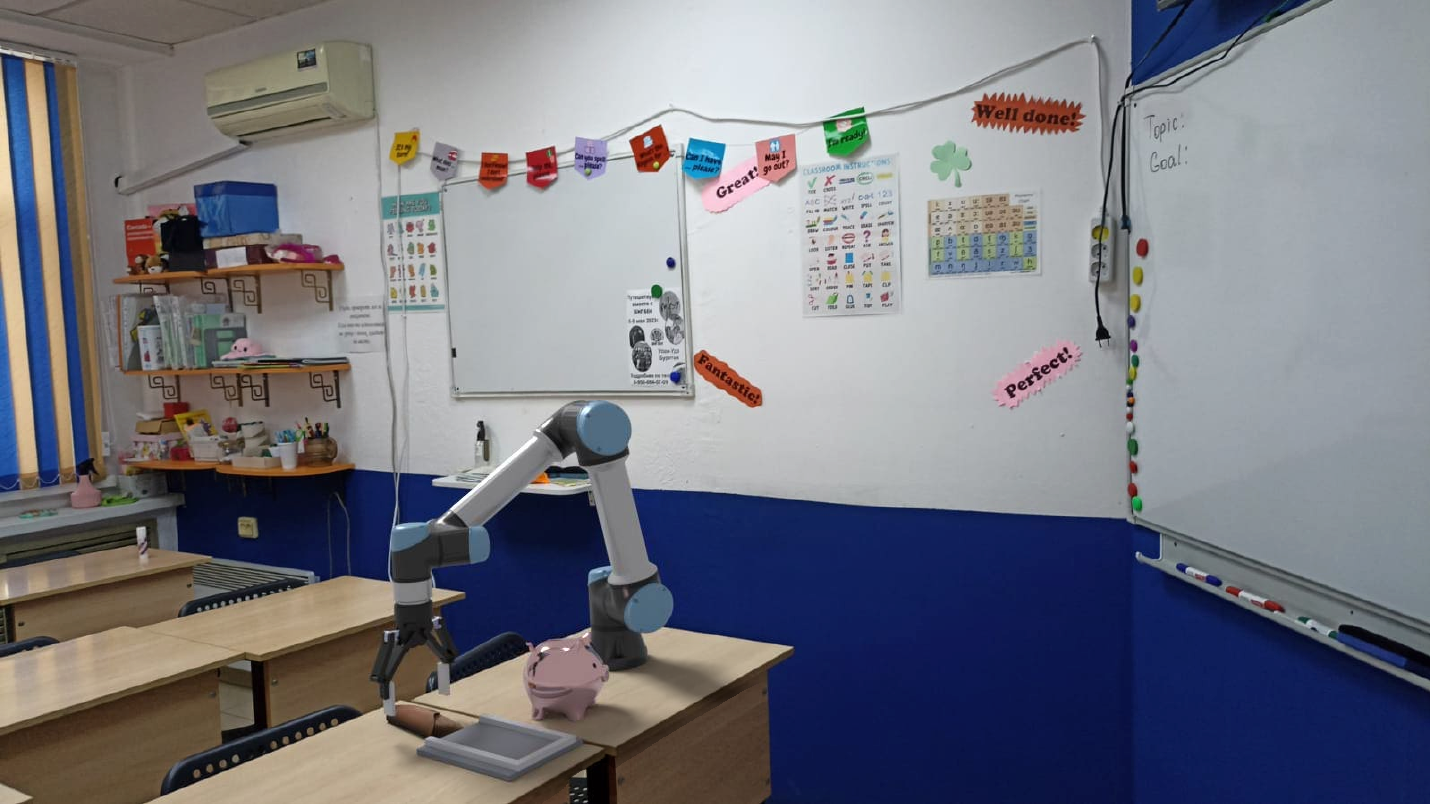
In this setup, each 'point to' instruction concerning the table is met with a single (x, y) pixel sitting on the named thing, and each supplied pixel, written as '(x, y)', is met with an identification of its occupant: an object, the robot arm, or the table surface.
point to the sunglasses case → (423, 721)
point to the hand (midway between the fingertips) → (417, 704)
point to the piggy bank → (564, 677)
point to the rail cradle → (499, 747)
